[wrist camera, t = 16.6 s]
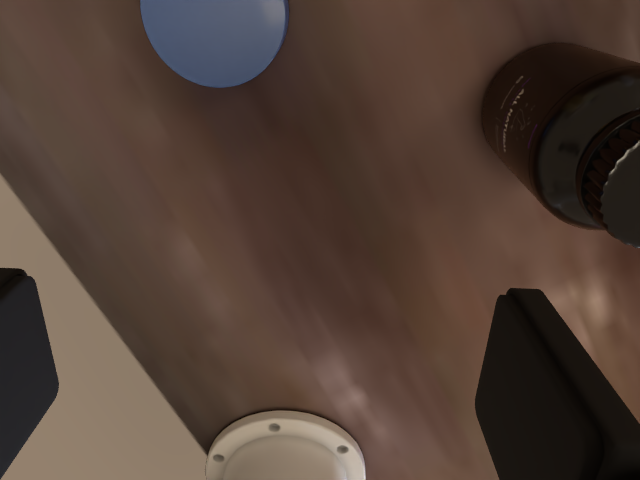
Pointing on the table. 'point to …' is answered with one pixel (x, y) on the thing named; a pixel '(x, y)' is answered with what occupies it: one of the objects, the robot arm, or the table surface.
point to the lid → (216, 37)
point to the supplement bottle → (572, 134)
